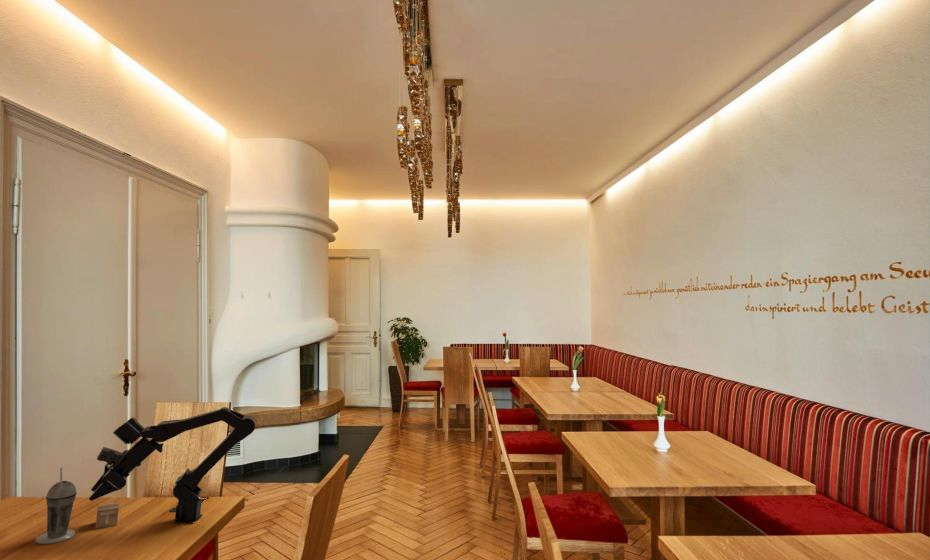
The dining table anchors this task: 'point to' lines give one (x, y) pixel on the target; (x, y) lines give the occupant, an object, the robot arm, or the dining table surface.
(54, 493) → the beverage cup
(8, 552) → the dining table surface
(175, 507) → the smartphone
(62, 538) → the grey coaster
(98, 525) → the letter block
